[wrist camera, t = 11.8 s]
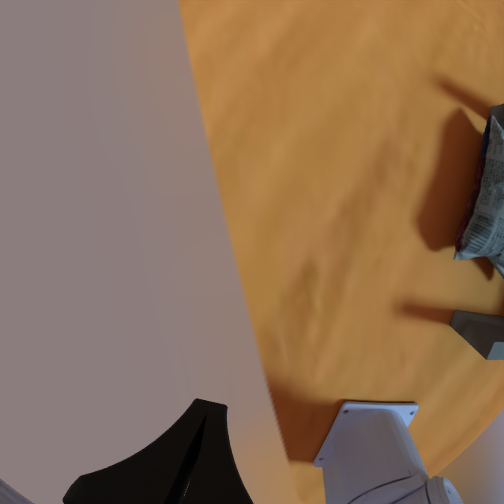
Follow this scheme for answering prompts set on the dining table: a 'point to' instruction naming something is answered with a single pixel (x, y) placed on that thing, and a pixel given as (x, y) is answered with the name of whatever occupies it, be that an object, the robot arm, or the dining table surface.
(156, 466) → the robot arm
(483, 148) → the packaged food
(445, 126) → the dining table surface
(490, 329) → the grey u-shaped bracket
